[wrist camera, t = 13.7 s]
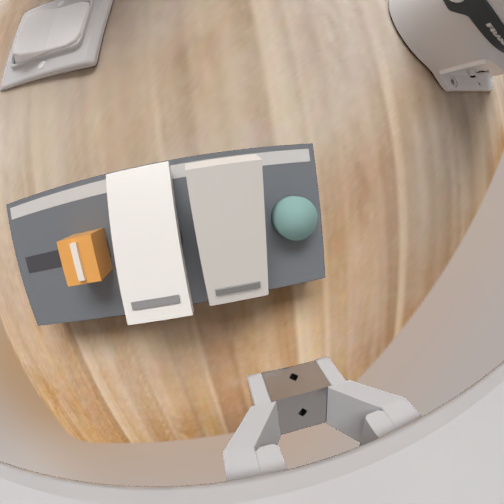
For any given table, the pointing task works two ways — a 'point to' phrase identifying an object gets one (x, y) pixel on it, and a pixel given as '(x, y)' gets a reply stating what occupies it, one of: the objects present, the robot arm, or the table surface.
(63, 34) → the light switch
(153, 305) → the panel
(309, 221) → the button
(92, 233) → the slider knob
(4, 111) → the table surface
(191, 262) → the panel
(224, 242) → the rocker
